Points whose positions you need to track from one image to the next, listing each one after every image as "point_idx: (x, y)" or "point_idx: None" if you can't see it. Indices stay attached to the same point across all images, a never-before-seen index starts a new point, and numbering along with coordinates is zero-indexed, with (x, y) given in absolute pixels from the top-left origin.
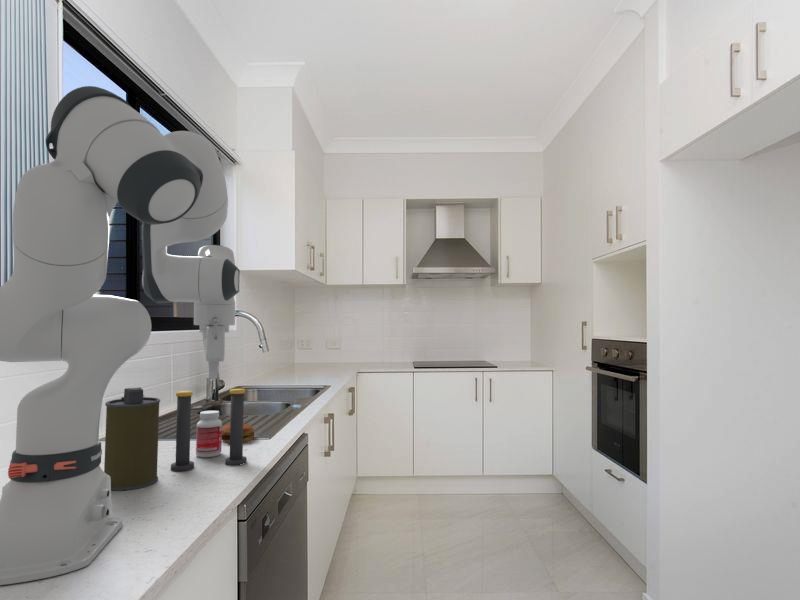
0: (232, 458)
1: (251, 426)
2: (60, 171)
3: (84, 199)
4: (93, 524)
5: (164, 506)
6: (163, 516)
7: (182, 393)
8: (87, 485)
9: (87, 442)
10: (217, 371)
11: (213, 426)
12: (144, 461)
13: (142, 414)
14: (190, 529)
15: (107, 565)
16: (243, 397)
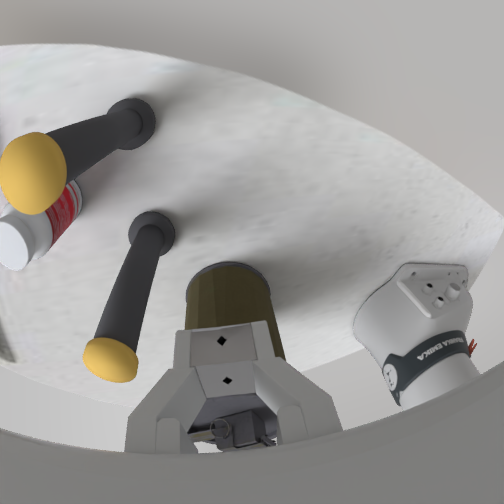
0: (139, 131)
1: None
2: None
3: None
4: (437, 287)
5: (366, 228)
6: (401, 224)
7: (136, 368)
8: (459, 319)
9: (468, 358)
10: (272, 356)
11: (45, 214)
12: (266, 303)
13: None
14: (448, 190)
15: (469, 252)
16: (49, 134)
